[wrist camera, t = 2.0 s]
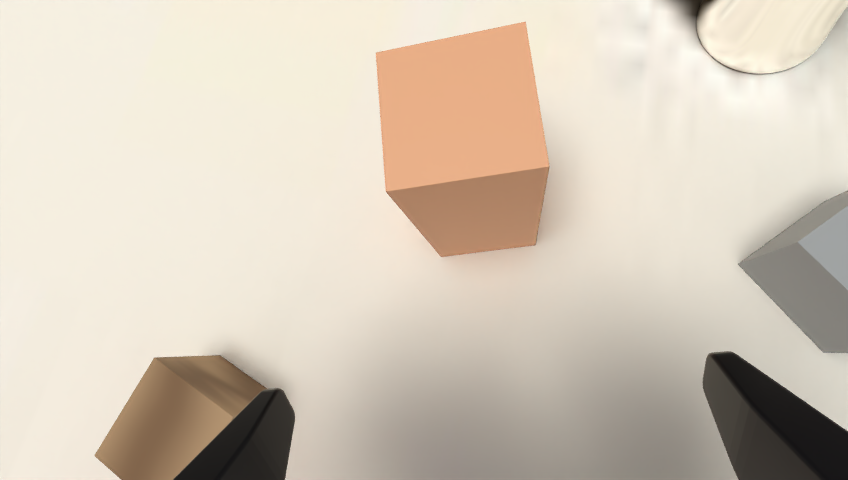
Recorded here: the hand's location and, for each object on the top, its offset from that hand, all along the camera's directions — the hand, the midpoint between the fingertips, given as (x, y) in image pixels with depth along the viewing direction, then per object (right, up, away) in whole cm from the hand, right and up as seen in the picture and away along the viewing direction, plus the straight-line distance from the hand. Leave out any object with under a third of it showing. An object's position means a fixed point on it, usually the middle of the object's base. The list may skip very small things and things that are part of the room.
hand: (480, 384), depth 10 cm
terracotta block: (+2, +5, +15) cm, 16 cm away
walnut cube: (-12, -7, +15) cm, 21 cm away
